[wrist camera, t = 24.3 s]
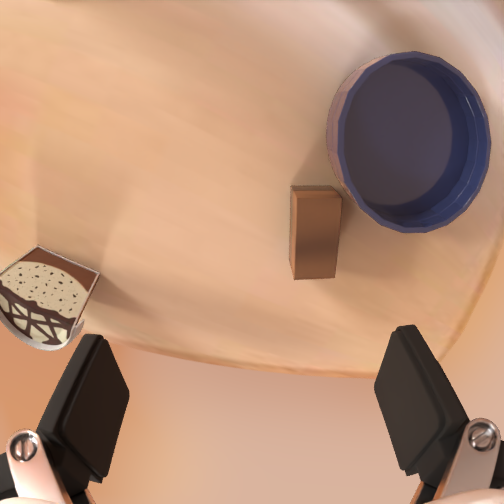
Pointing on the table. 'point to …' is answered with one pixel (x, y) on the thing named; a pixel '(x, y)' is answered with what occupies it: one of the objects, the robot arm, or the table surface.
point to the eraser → (314, 231)
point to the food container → (45, 298)
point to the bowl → (409, 141)
